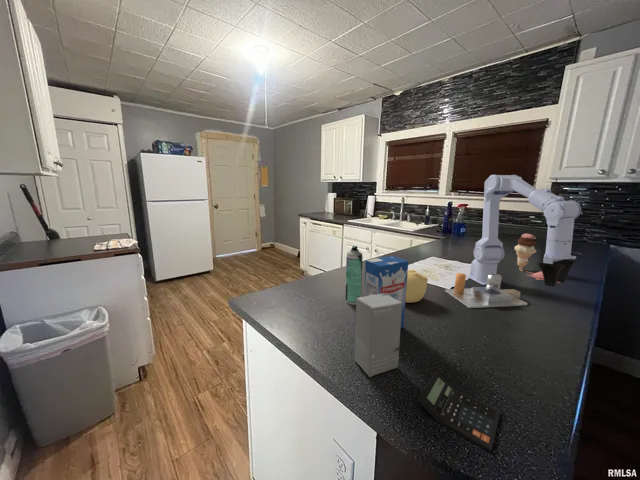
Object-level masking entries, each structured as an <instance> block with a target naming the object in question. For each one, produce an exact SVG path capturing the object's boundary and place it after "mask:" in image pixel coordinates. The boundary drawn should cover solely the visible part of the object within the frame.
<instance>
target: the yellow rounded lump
mask: <svg viewBox="0 0 640 480" xmlns="http://www.w3.org/2000/svg"><path fill="white" fill-rule="evenodd" d="M428 281H429V279H428V277H427V276H425V275H423V274H421V273H419V272H417V270H415V269H408V274H407V287H406V300H405V303H408V304H409V303H417V302H419V301H421V300H422V299H423V298H424V296H425V293H426V291H427V288H428Z"/></svg>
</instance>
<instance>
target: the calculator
mask: <svg viewBox="0 0 640 480" xmlns="http://www.w3.org/2000/svg"><path fill="white" fill-rule="evenodd" d="M417 401H418V403H419V404H420V405H421V406H422V407H423V408H424V409H425V410H426V411H427V412H428V414H430V415H431V416H432V417H433V419H434V420H435V421H436V422H437V423H440V424H441V425H442V426H444V427H446V428H448V429H450V430H452V431H453V432H455V433H456V434H459V435H460V436H462V437H464V438H466V439H467V440H469V441H470V442H472V443H474V444H475V445H477V446H479V447H481V448H483V449H484V450H486V451H487V452H490V453H492V450H493V446H494V441H495V438H496V435H497V434H496V433H497V430H498V429H497V428H498V424H499V419H500V417H501V411H502V410H501V409H499V408H497V407H494V406H492V405H490V404H489V403H486V402H484V401H482V400H481V399H478V398H476V397H474V396H471V395H470V394H467V393H465V392H463V391H462V390H458V389H456V387H454V386H453V384H452V383H451V382H450V381H448V379H446V377H444V376H443V375H442V374H441V373H440V372H439V371H438V370H436V371H435V372H434V373H433V375H432V376H431V377H430V380H429V381H428V382H427V384H426V386H425V387H424V389H423V390H422V392H421V394H420V396H419V397H418V398H417Z"/></svg>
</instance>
